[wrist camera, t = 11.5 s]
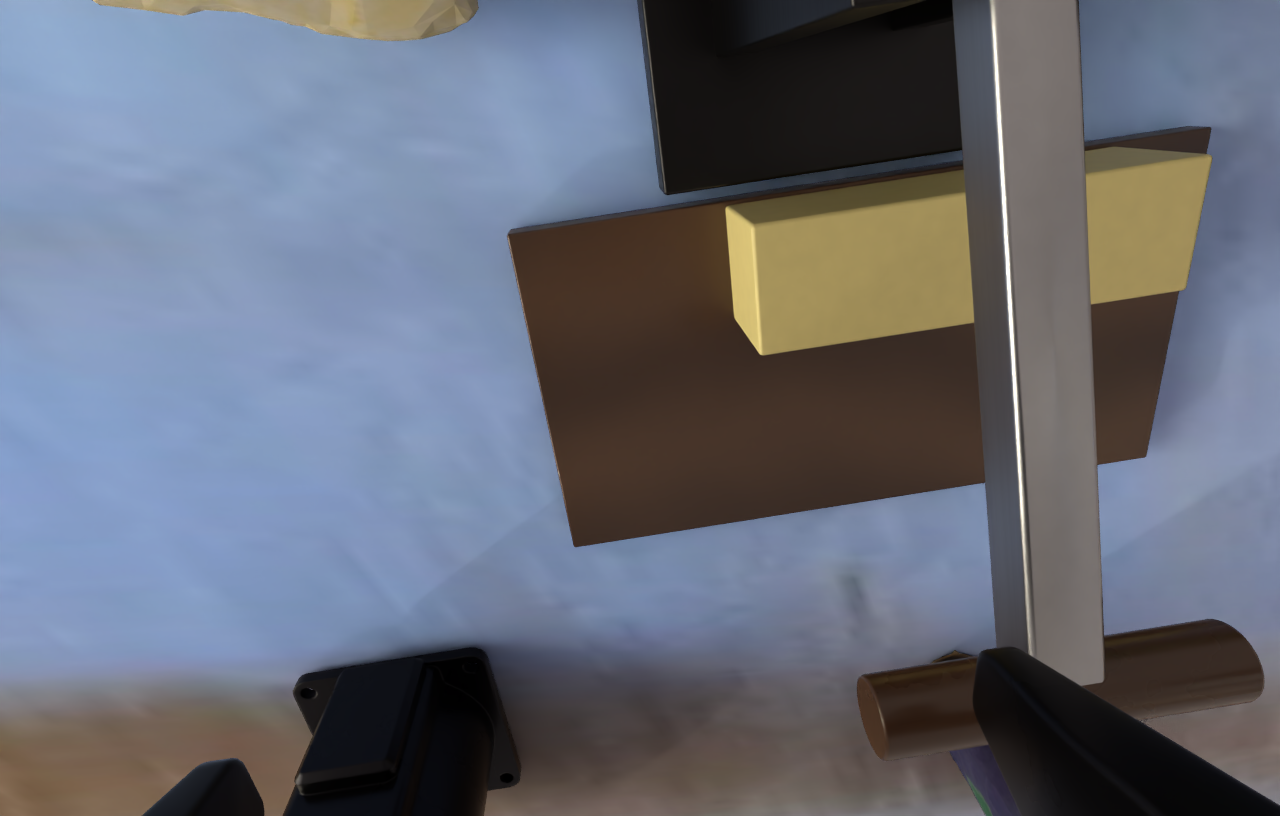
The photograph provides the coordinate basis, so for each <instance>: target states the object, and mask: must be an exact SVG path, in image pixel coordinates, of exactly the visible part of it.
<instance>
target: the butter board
mask: <svg viewBox="0 0 1280 816" xmlns="http://www.w3.org/2000/svg"><path fill="white" fill-rule="evenodd" d="M1210 133H1211V128H1210V127H1193V126H1186V127H1179V128H1172V129H1166V130H1159V131H1153V132H1146V133H1140V134H1133V135H1127V136H1120V137H1113V138H1107V139H1100V140H1094V141H1087V142H1084V147H1085V151H1089V150H1095V149H1102V148H1108V147H1125V148H1137V149H1150V150H1162V151H1174V152H1187V153H1199V154H1206V153H1207V148H1208V143H1209V138H1210ZM958 170H964V166H963V161H956V162H949V163H943V164H936V165H930V166H923V167H917V168H910V169H903V170H897V171H890V172H884V173H877V174H871V175H864V176H858V177H851V178H844V179H838V180H831V181H825V182H818V183H812V184H805V185H799V186H792V187H785V188H779V189H772V190H766V191H759V192H753V193H746V194H739V195H733V196H726V197H720V198H713V199H707V200H700V201H694V202H687V203H680V204H674V205H667V206H661V207H654V208H648V209H641V210H635V211H628V212H621V213H615V214H608V215H602V216H595V217H589V218H582V219H575V220H569V221H562V222H556V223H549V224H543V225H536V226H530V227H523V228H516V229H511V230H510V231H509V233H508V235H507V238H508V243H509V248H510V252H511V257H512V261H513V266H514V271H515V275H516V280H517V285H518V289H519V294H520V299H521V303H522V308H523V313H524V317H525V322H526V326H527V331H528V336H529V340H530V345H531V350H532V354H533V359H534V364H535V368H536V373H537V377H538V382H539V387H540V391H541V396H542V401H543V405H544V410H545V415H546V419H547V424H548V428H549V433H550V438H551V442H552V447H553V452H554V456H555V461H556V466H557V470H558V475H559V480H560V484H561V489H562V493H563V498H564V503H565V507H566V512H567V517H568V521H569V526H570V531H571V535H572V540H573V544H574V547H580V546H586V545H593V544H599V543H605V542H612V541H618V540H624V539H631V538H637V537H643V536H650V535H656V534H662V533H669V532H675V531H681V530H688V529H694V528H700V527H707V526H713V525H719V524H726V523H732V522H738V521H745V520H751V519H757V518H764V517H770V516H776V515H783V514H789V513H795V512H802V511H808V510H814V509H821V508H827V507H833V506H840V505H846V504H852V503H859V502H865V501H871V500H878V499H884V498H890V497H897V496H903V495H909V494H916V493H922V492H928V491H935V490H941V489H947V488H954V487H960V486H966V485H973V484H979V483H985V472H984V457H983V443H982V428H981V413H980V399H979V384H978V370H977V355H976V341H975V326H974V323H969V324H962V325H956V326H949V327H943V328H937V329H930V330H924V331H917V332H911V333H904V334H898V335H891V336H885V337H879V338H872V339H866V340H859V341H853V342H846V343H840V344H833V345H827V346H821V347H814V348H808V349H801V350H795V351H788V352H782V353H775V354H769V355H760V354H759V353H758V351H757V350H756V348H755V347H754V345H753V344H752V343H751V341H750V340H749V338H748V337H747V335H746V334H745V333H744V331H743V330H742V328H741V327H740V325H739V324H738V322H737V321H736V320H735V318H734V309H733V297H732V284H731V272H730V260H729V248H728V236H727V223H726V211H725V210H726V207H727V206H729V205H735V204H741V203H748V202H755V201H761V200H768V199H774V198H781V197H787V196H794V195H800V194H807V193H814V192H820V191H827V190H833V189H840V188H846V187H853V186H859V185H866V184H873V183H879V182H886V181H892V180H899V179H905V178H912V177H918V176H925V175H932V174H938V173H945V172H951V171H958ZM1178 294H1179V291H1175V292H1169V293H1162V294H1156V295H1149V296H1143V297H1136V298H1130V299H1124V300H1117V301H1111V302H1104V303H1098V304H1091V322H1092V347H1093V372H1094V398H1095V423H1096V448H1097V465H1099V464H1106V463H1112V462H1118V461H1125V460H1131V459H1137V458H1144V457H1146V455H1147V450H1148V445H1149V440H1150V435H1151V430H1152V424H1153V419H1154V414H1155V409H1156V404H1157V399H1158V394H1159V389H1160V384H1161V379H1162V374H1163V369H1164V364H1165V359H1166V354H1167V349H1168V344H1169V339H1170V334H1171V329H1172V324H1173V319H1174V314H1175V309H1176V304H1177V299H1178Z"/></svg>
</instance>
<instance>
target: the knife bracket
mask: <svg viewBox="0 0 1280 816" xmlns="http://www.w3.org/2000/svg"><path fill="white" fill-rule="evenodd" d="M637 2H638V11H639V19H640V28H641V36H642V44H643V53H644V61H645V69H646V78H647V86H648V95H649V103H650V111H651V120H652V128H653V136H654V145H655V153H656V162H657V170H658V178H659V187H660V189H661V190H662V191H663V193H664V194H666V195H671V194H677V193H684V192H691V191H697V190H704V189H710V188H717V187H723V186H730V185H737V184H743V183H750V182H756V181H763V180H769V179H776V178H783V177H789V176H796V175H802V174H809V173H815V172H822V171H829V170H835V169H842V168H848V167H855V166H861V165H868V164H874V163H881V162H888V161H894V160H901V159H907V158H914V157H920V156H927V155H934V154H940V153H947V152H953V151H960V150H962V136H961V122H960V107H959V93H958V78H957V64H956V49H955V34H954V20H953V5H952V0H637Z"/></svg>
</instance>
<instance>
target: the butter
mask: <svg viewBox="0 0 1280 816" xmlns="http://www.w3.org/2000/svg"><path fill="white" fill-rule="evenodd" d="M1211 163H1212V156H1211V155H1208V154H1199V153H1187V152H1174V151H1162V150H1150V149H1137V148H1125V147H1108V148H1102V149H1095V150H1089V151H1085V172H1086V197H1087V222H1088V247H1089V272H1090V297H1091V304H1098V303H1104V302H1111V301H1117V300H1124V299H1130V298H1136V297H1143V296H1149V295H1156V294H1162V293H1169V292H1175V291H1181V290H1184V289H1185V288H1186V286H1187V281H1188V276H1189V271H1190V266H1191V261H1192V256H1193V251H1194V246H1195V241H1196V237H1197V232H1198V227H1199V222H1200V217H1201V212H1202V207H1203V202H1204V197H1205V192H1206V187H1207V182H1208V177H1209V172H1210V168H1211ZM725 211H726V223H727V236H728V248H729V260H730V272H731V284H732V297H733V309H734V318H735V320H736V321H737V322H738V324H739V325H740V327H741V328H742V330H743V331H744V333H745V334H746V335H747V337H748V338H749V340H750V341H751V343H752V344H753V345H754V347H755V348H756V350H757V351H758V353H759V354H760V355H769V354H775V353H782V352H788V351H795V350H801V349H808V348H814V347H821V346H827V345H833V344H840V343H846V342H853V341H859V340H866V339H872V338H879V337H885V336H891V335H898V334H904V333H911V332H917V331H924V330H930V329H937V328H943V327H949V326H956V325H962V324H969V323H974V311H973V297H972V282H971V268H970V253H969V239H968V224H967V209H966V195H965V180H964V170H958V171H951V172H945V173H938V174H932V175H925V176H918V177H912V178H905V179H899V180H892V181H886V182H879V183H873V184H866V185H859V186H853V187H846V188H840V189H833V190H827V191H820V192H814V193H807V194H800V195H794V196H787V197H781V198H774V199H768V200H761V201H755V202H748V203H741V204H735V205H729V206H727V207H726V210H725Z"/></svg>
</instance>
